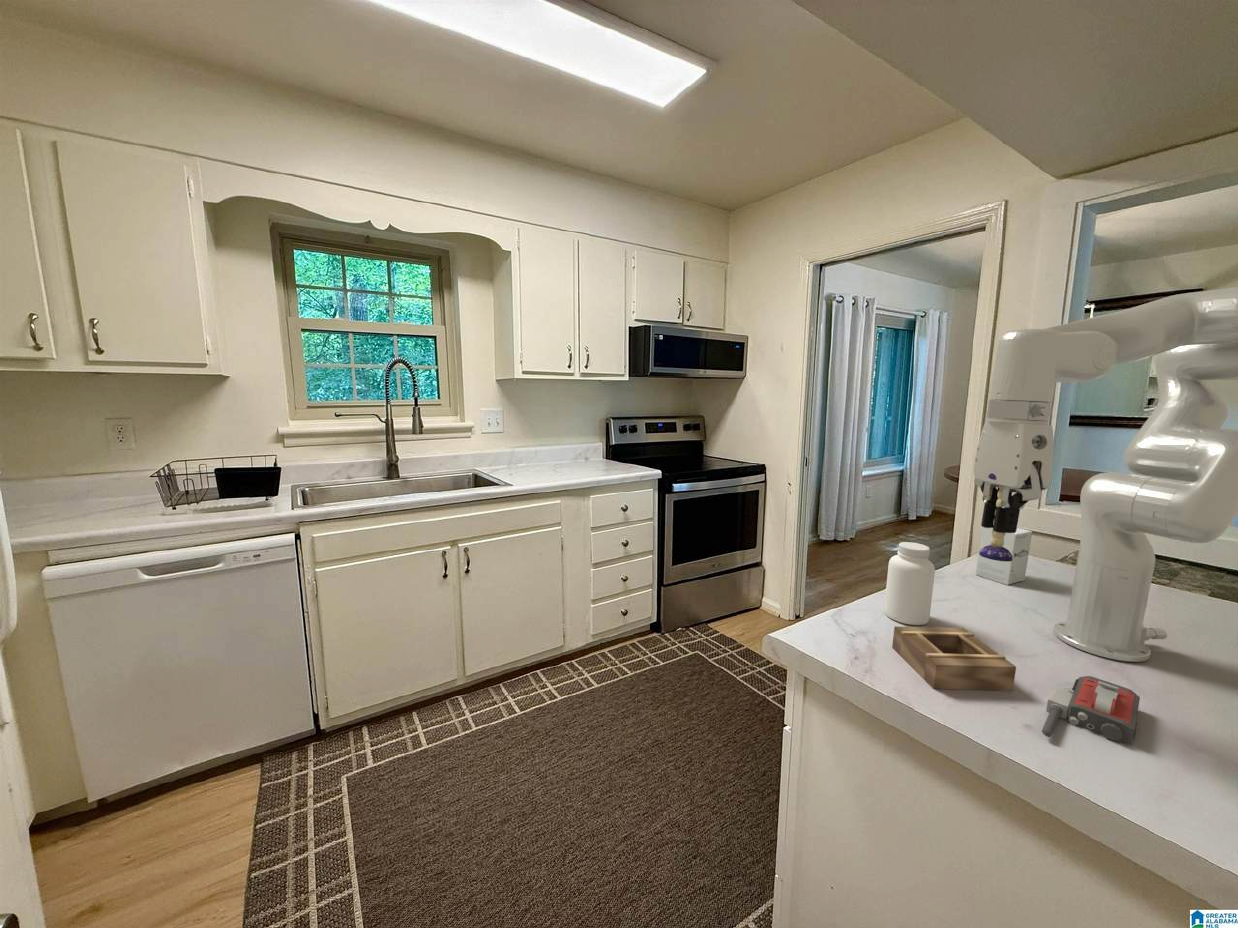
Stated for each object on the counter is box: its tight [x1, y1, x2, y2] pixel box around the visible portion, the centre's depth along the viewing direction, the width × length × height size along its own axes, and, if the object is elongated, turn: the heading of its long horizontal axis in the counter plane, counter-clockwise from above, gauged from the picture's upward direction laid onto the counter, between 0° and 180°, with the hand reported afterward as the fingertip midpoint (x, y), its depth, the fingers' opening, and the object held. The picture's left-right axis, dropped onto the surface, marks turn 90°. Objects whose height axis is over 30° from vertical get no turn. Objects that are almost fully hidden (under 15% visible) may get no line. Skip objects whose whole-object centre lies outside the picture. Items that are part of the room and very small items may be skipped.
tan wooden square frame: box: [891, 626, 1017, 692], centre depth 81 cm, size 12×12×4 cm
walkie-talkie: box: [1041, 675, 1141, 746], centre depth 68 cm, size 9×4×20 cm
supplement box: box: [975, 527, 1033, 586], centre depth 119 cm, size 7×7×13 cm
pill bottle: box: [883, 541, 936, 626], centre depth 98 cm, size 8×8×15 cm
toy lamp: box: [978, 473, 1012, 562], centre depth 77 cm, size 5×5×17 cm
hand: (998, 529), depth 77 cm, fingers closed on toy lamp
